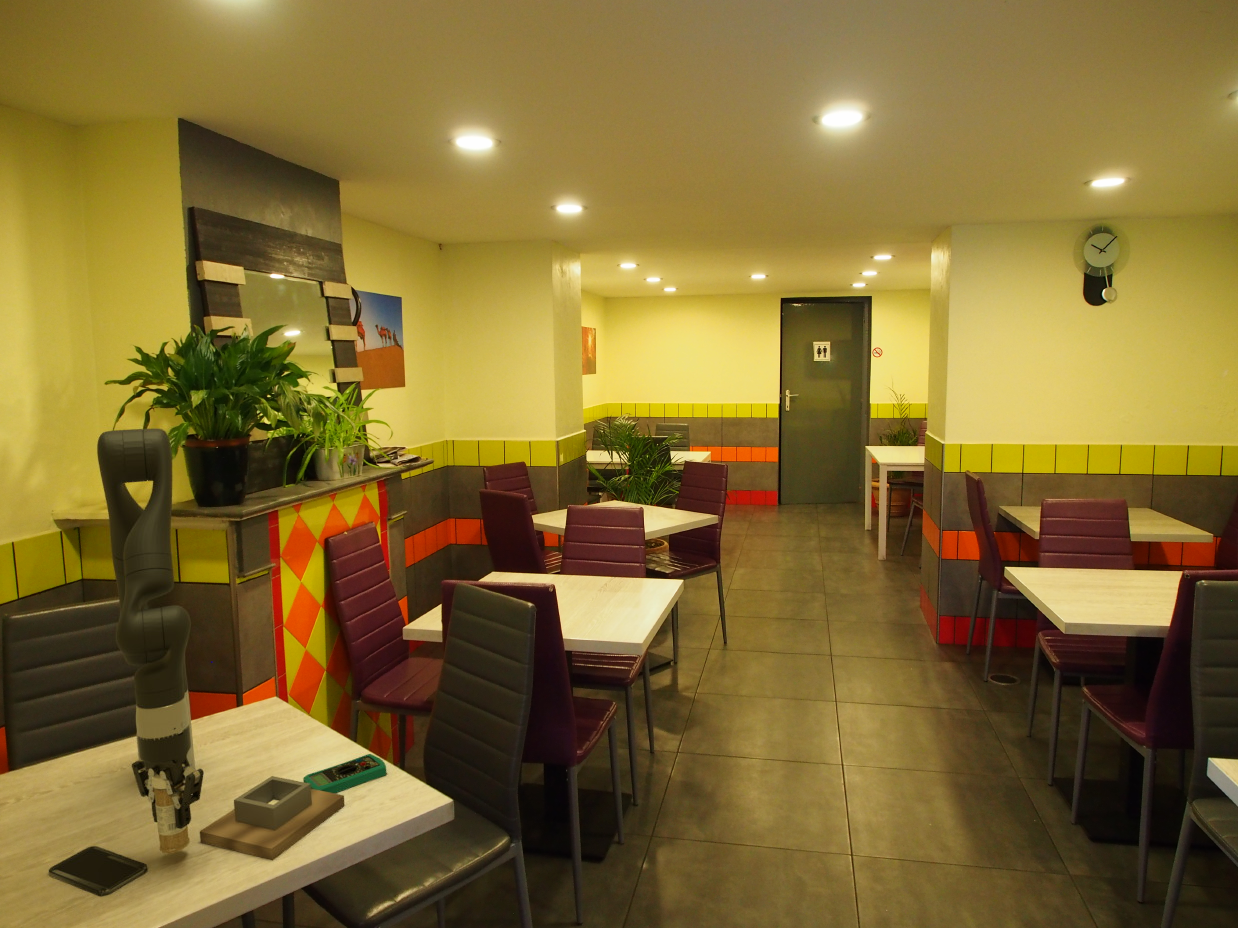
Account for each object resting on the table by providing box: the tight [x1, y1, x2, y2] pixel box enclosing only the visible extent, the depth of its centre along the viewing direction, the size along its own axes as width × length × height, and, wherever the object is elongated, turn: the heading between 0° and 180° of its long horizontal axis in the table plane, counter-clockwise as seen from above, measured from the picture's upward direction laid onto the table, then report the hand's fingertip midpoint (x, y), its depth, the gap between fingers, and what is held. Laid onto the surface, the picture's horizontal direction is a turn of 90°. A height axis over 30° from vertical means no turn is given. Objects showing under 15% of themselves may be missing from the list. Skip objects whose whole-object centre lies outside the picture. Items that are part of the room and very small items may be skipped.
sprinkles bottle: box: [152, 774, 191, 854], centre depth 138 cm, size 5×5×14 cm
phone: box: [48, 845, 148, 897], centre depth 135 cm, size 8×1×15 cm
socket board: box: [199, 789, 345, 861], centre depth 148 cm, size 16×18×2 cm
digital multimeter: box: [302, 753, 387, 794], centre depth 163 cm, size 7×15×3 cm, turn 131°
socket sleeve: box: [233, 775, 312, 830], centre depth 148 cm, size 9×9×4 cm
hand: (172, 822), depth 138 cm, fingers closed on sprinkles bottle, 4 cm apart
